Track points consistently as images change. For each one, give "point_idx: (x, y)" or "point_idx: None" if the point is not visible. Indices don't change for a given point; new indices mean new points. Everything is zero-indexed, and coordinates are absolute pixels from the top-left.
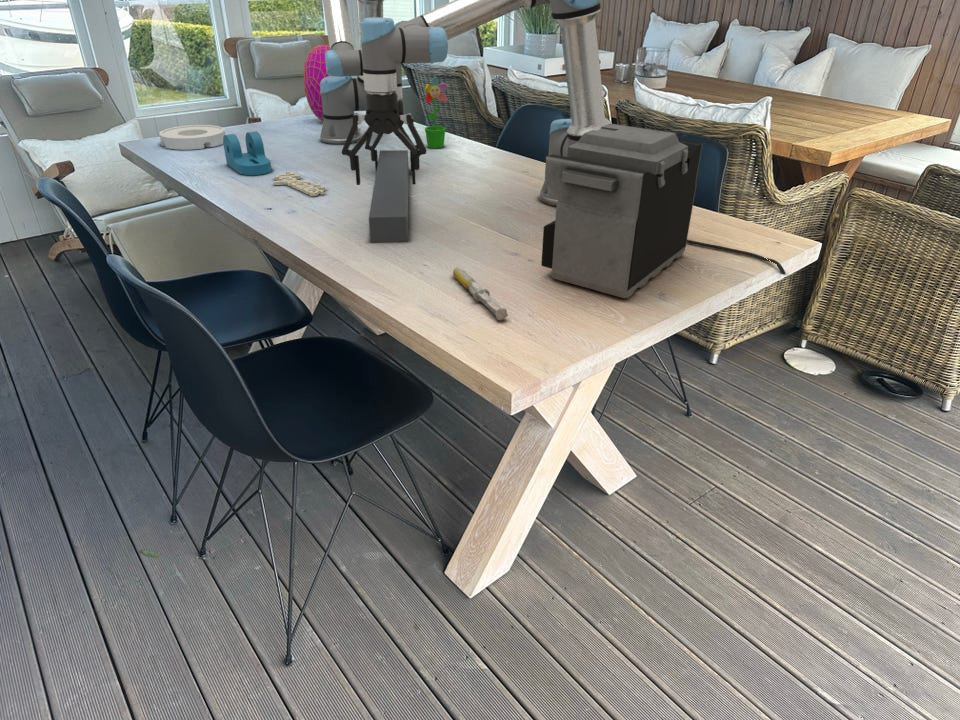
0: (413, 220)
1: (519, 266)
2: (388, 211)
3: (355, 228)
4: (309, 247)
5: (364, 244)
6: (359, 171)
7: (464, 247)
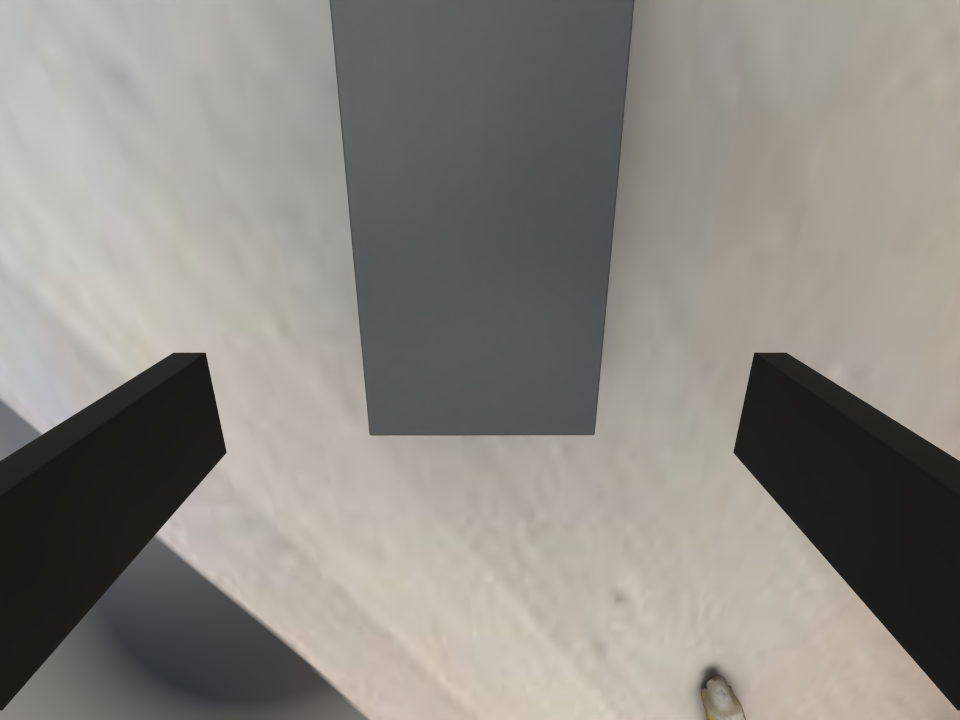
0: None
1: None
2: (484, 336)
3: (280, 158)
4: None
5: None
6: (138, 423)
7: None
